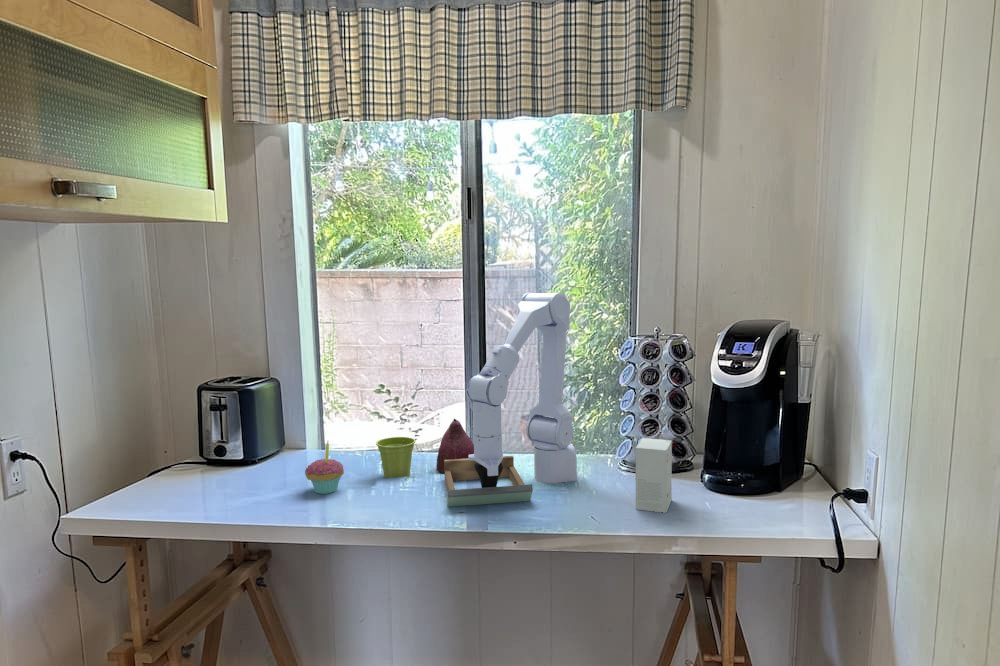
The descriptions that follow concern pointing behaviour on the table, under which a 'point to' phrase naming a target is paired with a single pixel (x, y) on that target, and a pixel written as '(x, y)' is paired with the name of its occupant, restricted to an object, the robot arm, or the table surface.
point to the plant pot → (396, 456)
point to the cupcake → (325, 474)
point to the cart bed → (467, 471)
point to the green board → (489, 495)
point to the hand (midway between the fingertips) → (489, 498)
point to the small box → (653, 475)
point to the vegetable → (454, 445)
